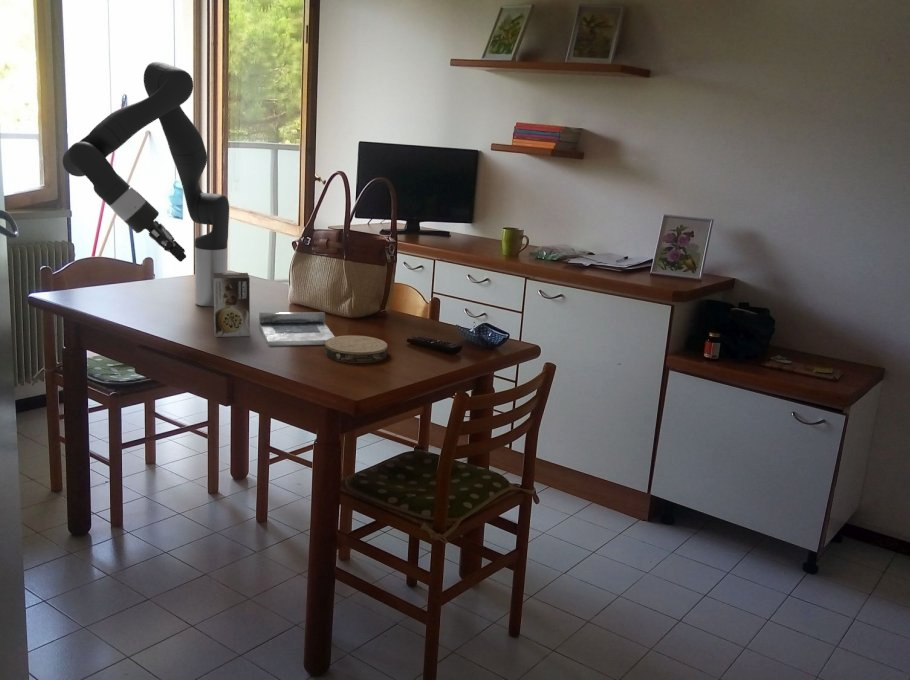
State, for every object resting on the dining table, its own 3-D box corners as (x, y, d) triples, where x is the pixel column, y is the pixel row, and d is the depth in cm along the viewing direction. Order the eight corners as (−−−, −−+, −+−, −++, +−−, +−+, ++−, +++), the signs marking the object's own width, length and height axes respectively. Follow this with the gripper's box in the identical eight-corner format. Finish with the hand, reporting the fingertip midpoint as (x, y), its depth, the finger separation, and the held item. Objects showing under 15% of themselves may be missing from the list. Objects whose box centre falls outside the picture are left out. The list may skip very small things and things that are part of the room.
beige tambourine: (343, 343, 223) (344, 332, 223) (397, 352, 218) (397, 341, 217) (312, 357, 209) (312, 345, 208) (369, 367, 204) (369, 356, 203)
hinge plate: (258, 326, 233) (259, 311, 232) (322, 325, 239) (323, 311, 238) (268, 345, 215) (268, 330, 213) (337, 344, 221) (337, 328, 220)
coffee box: (248, 330, 228) (248, 272, 223) (250, 336, 222) (250, 277, 217) (213, 330, 225) (213, 271, 221) (214, 337, 219) (214, 276, 215)
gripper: (145, 202, 201) (195, 250, 207) (145, 196, 214) (192, 242, 220) (122, 223, 200) (173, 271, 207) (123, 216, 213) (171, 261, 220)
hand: (183, 256), depth 214 cm, fingers open, 8 cm apart
